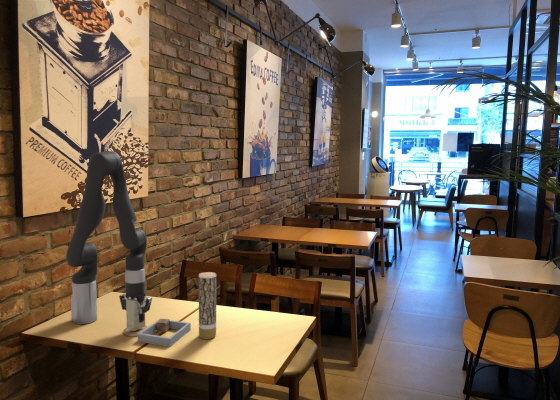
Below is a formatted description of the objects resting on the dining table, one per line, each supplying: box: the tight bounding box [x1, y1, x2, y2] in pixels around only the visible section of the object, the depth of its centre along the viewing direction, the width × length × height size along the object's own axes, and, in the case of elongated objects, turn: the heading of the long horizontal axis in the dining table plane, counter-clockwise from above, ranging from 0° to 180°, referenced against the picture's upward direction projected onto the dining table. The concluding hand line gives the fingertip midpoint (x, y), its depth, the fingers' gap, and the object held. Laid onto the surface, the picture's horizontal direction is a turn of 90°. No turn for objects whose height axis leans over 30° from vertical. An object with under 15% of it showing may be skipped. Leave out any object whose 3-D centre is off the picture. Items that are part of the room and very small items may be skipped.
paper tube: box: [198, 271, 217, 340], centre depth 174 cm, size 7×7×25 cm
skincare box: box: [125, 299, 146, 331], centre depth 178 cm, size 6×4×12 cm
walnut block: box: [156, 318, 171, 333], centre depth 180 cm, size 4×4×4 cm
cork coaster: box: [122, 325, 149, 337], centre depth 178 cm, size 10×10×1 cm
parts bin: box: [137, 319, 192, 347], centre depth 175 cm, size 14×16×3 cm
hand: (136, 320), depth 178 cm, fingers closed on skincare box, 4 cm apart
